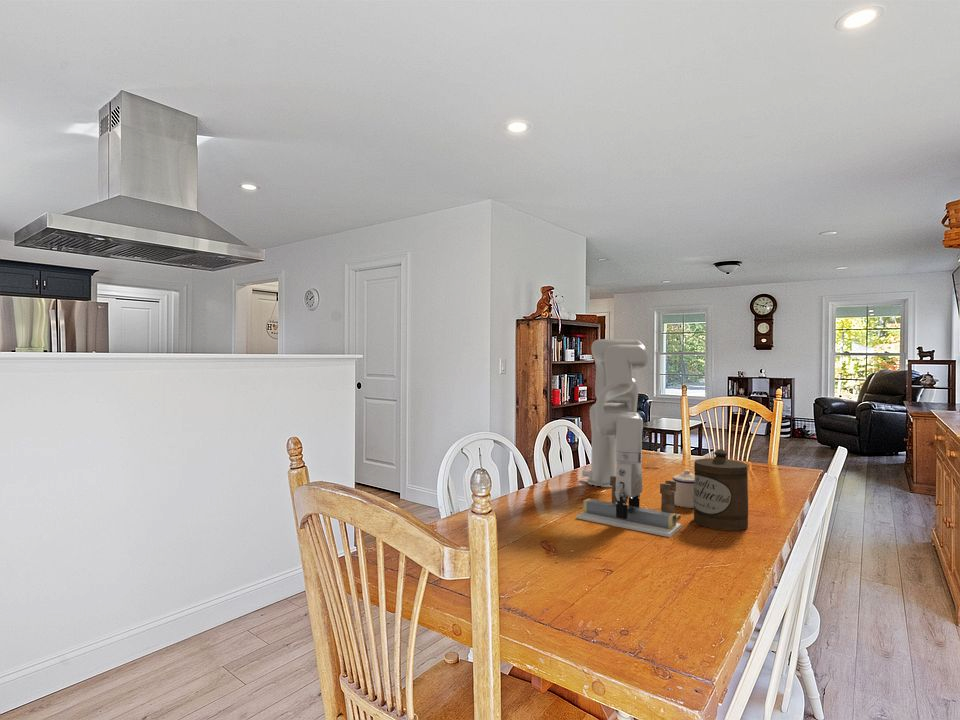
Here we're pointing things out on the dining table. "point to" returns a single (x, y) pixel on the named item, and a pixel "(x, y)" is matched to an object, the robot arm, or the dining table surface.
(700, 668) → the dining table surface
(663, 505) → the rack
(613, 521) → the mat
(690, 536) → the dining table surface
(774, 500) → the dining table surface
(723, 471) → the wooden container
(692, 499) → the teacup with lid
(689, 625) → the dining table surface
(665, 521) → the rail
